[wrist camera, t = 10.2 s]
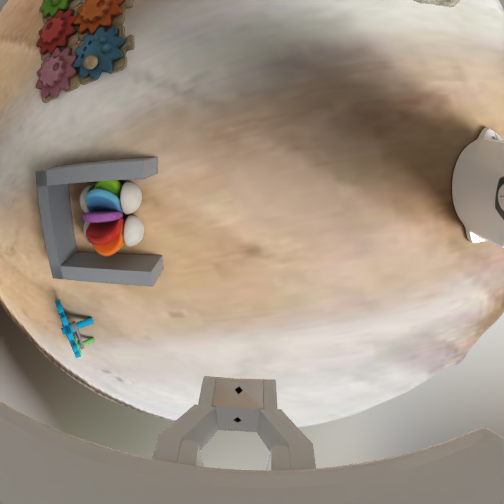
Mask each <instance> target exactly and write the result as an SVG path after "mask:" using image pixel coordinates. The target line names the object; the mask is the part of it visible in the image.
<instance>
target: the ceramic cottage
mask: <svg viewBox="0 0 504 504" xmlns="http://www.w3.org/2000/svg"><path fill="white" fill-rule="evenodd" d="M414 1H416V2H420V3H427V4H435V5H442V6H448V7H454V6H455V5H456V4H457V3H458V2H459V1H460V0H414Z"/></svg>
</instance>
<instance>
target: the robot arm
mask: <svg viewBox="0 0 504 504" xmlns="http://www.w3.org/2000/svg"><path fill="white" fill-rule="evenodd" d="M452 197H453V203H454V207H455V210H456V213H457V215H458V217H459V219H460V220H461V221H462V223H463V224H464V226H465V229H466V234H467V238H468V240H469V241H470V242H472V243H478V242H483V241H489V242H491V243H493V244H495V245H497V246H499V247H501V248H504V139H503V138H501V137H500V136H499V135H498V134H497V133H495V132H494V131H493V130H492V129H489V128H484V129H483V130H482V132H481V133H480V135H479V137H478V138H477V139H476V140H475V141H474V142H472V143H470V144H469V145H468V146H467V147H466V148H465V149H464V150H463V151H462V153H461V154H460V156H459V158H458V160H457V163H456V166H455V169H454V174H453V180H452ZM218 430H228V431H246V432H257V433H258V435H259V436H260V438H261V439H262V440H263V442H264V443H265V445H266V446H267V448H268V449H269V451H270V457H269V461H268V465H267V470H263V471H262V470H234V469H220V468H209V467H204V465H203V461H202V457H201V453H200V450H201V449H202V448H203V447H204V446H205V445H206V444H207V443H208V441H209V440H210V439H211V438H212V437H213V436H214V434H215V433H216V432H217V431H218ZM0 504H504V438H502V437H501V436H499V435H498V434H496V433H494V432H493V431H491V430H489V429H486V428H479V429H477V430H474V431H472V432H469V433H467V434H464V435H462V436H459V437H456V438H454V439H451V440H448V441H445V442H442V443H439V444H437V445H433V446H430V447H427V448H423V449H420V450H417V451H413V452H409V453H405V454H401V455H397V456H393V457H389V458H384V459H379V460H374V461H369V462H363V463H358V464H350V465H343V466H336V467H327V468H317V469H316V466H315V458H314V450H313V444H312V443H311V441H309V439H307V437H306V436H305V435H304V434H303V433H302V432H301V431H300V430H299V429H298V428H297V427H296V425H295V424H294V423H293V422H292V421H291V420H290V419H289V418H288V417H287V416H286V414H285V413H284V412H283V411H282V410H281V409H277V393H276V381H275V380H264V379H233V378H222V377H210V376H204V378H203V383H202V388H201V393H200V398H199V403H198V405H194V406H193V407H191V408H190V409H189V410H188V411H187V412H186V413H184V414H183V415H182V416H181V417H180V418H179V419H177V420H176V421H175V422H174V423H173V424H171V425H170V426H169V427H168V428H167V429H165V430H164V431H163V432H162V433H161V434H159V437H158V440H157V444H156V447H155V451H154V455H153V458H152V459H151V458H147V457H142V456H138V455H134V454H130V453H126V452H122V451H118V450H115V449H111V448H108V447H104V446H101V445H98V444H95V443H92V442H89V441H86V440H83V439H80V438H77V437H74V436H72V435H69V434H67V433H64V432H61V431H59V430H57V429H54V428H52V427H50V426H47V425H45V424H43V423H41V422H38V421H36V420H34V419H32V418H30V417H28V416H26V415H24V414H22V413H20V412H18V411H16V410H14V409H12V408H11V407H9V406H7V405H5V404H3V403H1V402H0Z"/></svg>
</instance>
